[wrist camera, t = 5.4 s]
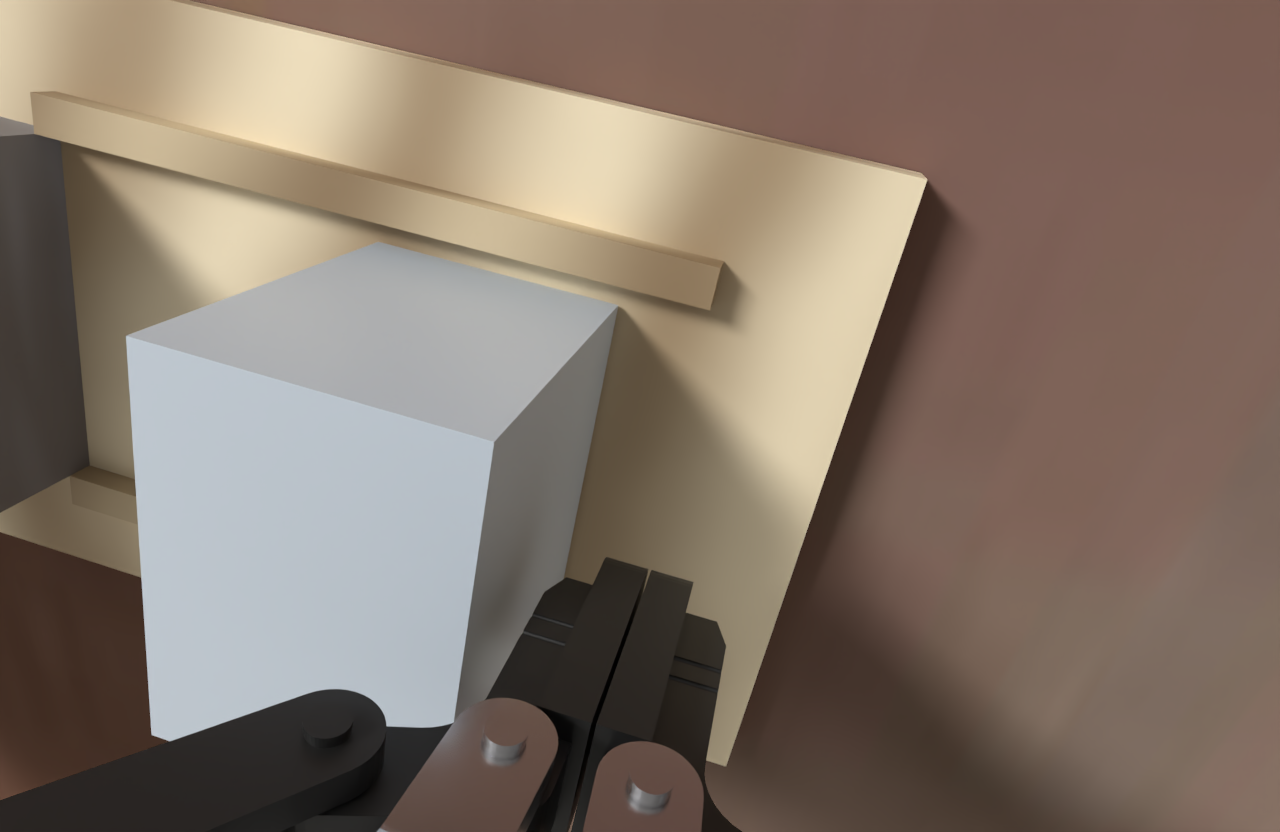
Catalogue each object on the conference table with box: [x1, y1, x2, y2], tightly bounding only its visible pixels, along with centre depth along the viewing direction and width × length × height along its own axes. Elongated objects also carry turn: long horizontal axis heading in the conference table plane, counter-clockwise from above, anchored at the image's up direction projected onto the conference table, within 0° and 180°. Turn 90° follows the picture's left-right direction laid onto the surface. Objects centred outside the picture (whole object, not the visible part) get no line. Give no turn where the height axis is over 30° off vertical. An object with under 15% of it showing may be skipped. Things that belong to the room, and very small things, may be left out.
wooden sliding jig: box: [0, 0, 927, 767], centre depth 15 cm, size 20×14×8 cm
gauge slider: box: [126, 242, 618, 741], centre depth 15 cm, size 7×10×6 cm, turn 168°
